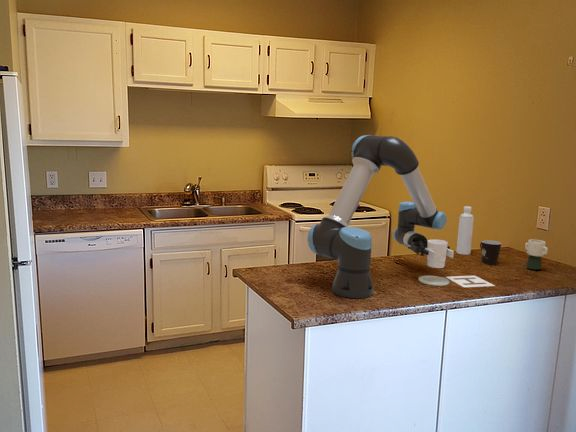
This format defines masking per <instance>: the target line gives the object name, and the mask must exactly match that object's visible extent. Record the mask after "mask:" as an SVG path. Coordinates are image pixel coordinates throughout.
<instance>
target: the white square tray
mask: <svg viewBox="0 0 576 432" xmlns="http://www.w3.org/2000/svg"><path fill="white" fill-rule="evenodd" d="M445 279H448V280H449V281H451V282H453V283H454V284H457V285H458V286H461V287H463V288H481V287H483V288H486V287H487V288H488V287H496V285H495V284H493V283H492V282H491V283H490V282H489V281H487V280H485V279H482V278H480V277H479V276H476V275H459V276H456V275H455V276H452V275H451V276H445Z"/></svg>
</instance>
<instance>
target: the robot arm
mask: <svg viewBox="0 0 576 432" xmlns="http://www.w3.org/2000/svg"><path fill="white" fill-rule="evenodd" d="M351 151H352V152H351V157H352V161H351V162H352V164H353V166H352V168H351V170H350V172H349V174H348V176H347V178H346V179H345V182H344V183H343V186H342V188H341V190H340V192H339V194H338V195H337V196H336V197H337V198H336V200H335V201H334V204H333V206H332V207H331V209H330V212H329V214H328V215H326V216H323V217H322V218H321V221H320V223H316V224H314V225H312V226H311V227H310V228H309V230H308V233H307V243H308V248H309V249H310V251H311V252H312V253H313V254H316V255H319V256H320V257H325V258H328V259H332V260H335V261H338V262H337V267H338V268H337V272H336V274H335V277H334V279H333V281H332V285H331V286H332V287H331V291H332V293H333V294H335V295H337V296H340V297H344V298H349V299H351V298H352V299H364V298H368V297H371V296H373V295H374V286H373V285H374V284H373V281H372V276H371V272H370V270H371V259H372V257H371V256H372V247H373V244H372V241H373V240H372V234H371V233H370V232H369V231H367V230H365V229H363V228H359V227H355V226H354V227H353V226H349V225H350V222H351V221H352V218H353V216H354V214H355V212H356V210H357V208H358V206H359V204H360V202H361V199H362V198H363V196H364V194H365V192H366V190H367V188H368V185H369V183H370V182H371V179H372V177H373V175H376V174H378V173H379V172H380V170H381V167H382V166H385V167H390V168H393V170H394V171H395V173H396V174H397V175H399V176H400V178H401V180H402V182H403V184H404V186H405V188H406V190H407V192H408V194H409V196H410V197H411V200H412V201H402V202H400V203H399V204H398V205H399V206H398V213H397V214H398V217H397V227H395V229H394V230H393V233H392V235H393V239H394V240H395V241H396V242H397V243H398V244H401V245H403V246H405V247H407V249H408V250H411V251H412V252H413V253H415V254H416V255H419V254H420V256H421V257H424V256H426V257H427V256H428V257H430V258H432V259H434V257H435V252H434V251H432V250H430V249H428V248H427V241H428V239H427V237H426V236H424V235H423V234H421V233H419V232H417V231H415V228H416V226H417V227H419V226H420V227H424V228H428V229H432V230H434V229H435V230H442V229H444V228H445V226H446V224H447V221H448V220H447V215H446V213H445V212H443V211H438V208H437V207H436V204H435V202H434V200H433V198H432V195H431V193H430V191H429V188H428V186H427V184H426V182H425V178H424V177H423V175H422V173H421V171H420V168H419V166H420V163H419V159H418V157H417V155H416V154H415V152H414V151H413V149H412V148H411V147H410V146H409V145H408V143H406V142H405V141H404V140H402V139H401V138H399V137H397V136H392V135H391V136H389V135H388V136H387V135H373V134H367V135H366V134H365V135H361V136H359V137H358V138H357V139H356V140H355V141H354V142H353V143H352V147H351ZM454 254H455V252H454V250H452V249H451V247H450V246H449V245H448V246H447V254H446V257H448V258H450V259H454Z"/></svg>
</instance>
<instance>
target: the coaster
mask: <svg viewBox="0 0 576 432" xmlns="http://www.w3.org/2000/svg"><path fill="white" fill-rule="evenodd" d="M418 282H420V283H421V284H424V285H427V286H433V287H434V286H435V287H444V286H445V287H446V286H448V285H450V280H449V279H448V278H446V277H442V276H437V275H421V276H419V277H418Z"/></svg>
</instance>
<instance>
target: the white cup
mask: <svg viewBox="0 0 576 432" xmlns="http://www.w3.org/2000/svg"><path fill="white" fill-rule="evenodd" d="M447 246H449V244H448V241H447V240H443V239H429V240H428V239H427V248H428V249H430V250H432V251H434V252H435V257H434V259H432V258H430V257H428V256H426V266H427V267H429V268H433V269H435V268H436V269H441V268H442V269H443V268H444V267H445V265H446V260H447V256H446V254H447Z"/></svg>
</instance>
